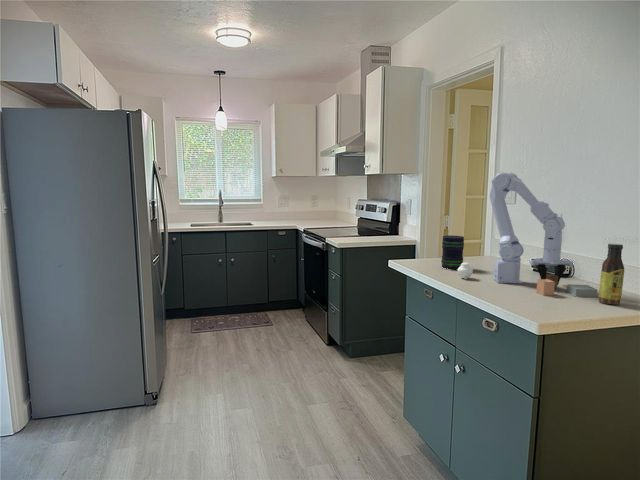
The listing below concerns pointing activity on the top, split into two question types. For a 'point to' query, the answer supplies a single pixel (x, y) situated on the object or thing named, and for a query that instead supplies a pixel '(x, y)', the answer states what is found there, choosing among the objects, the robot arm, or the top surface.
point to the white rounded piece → (465, 270)
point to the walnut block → (552, 279)
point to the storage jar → (452, 251)
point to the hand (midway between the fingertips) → (549, 284)
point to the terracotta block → (545, 287)
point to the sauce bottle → (612, 276)
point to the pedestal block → (582, 290)
